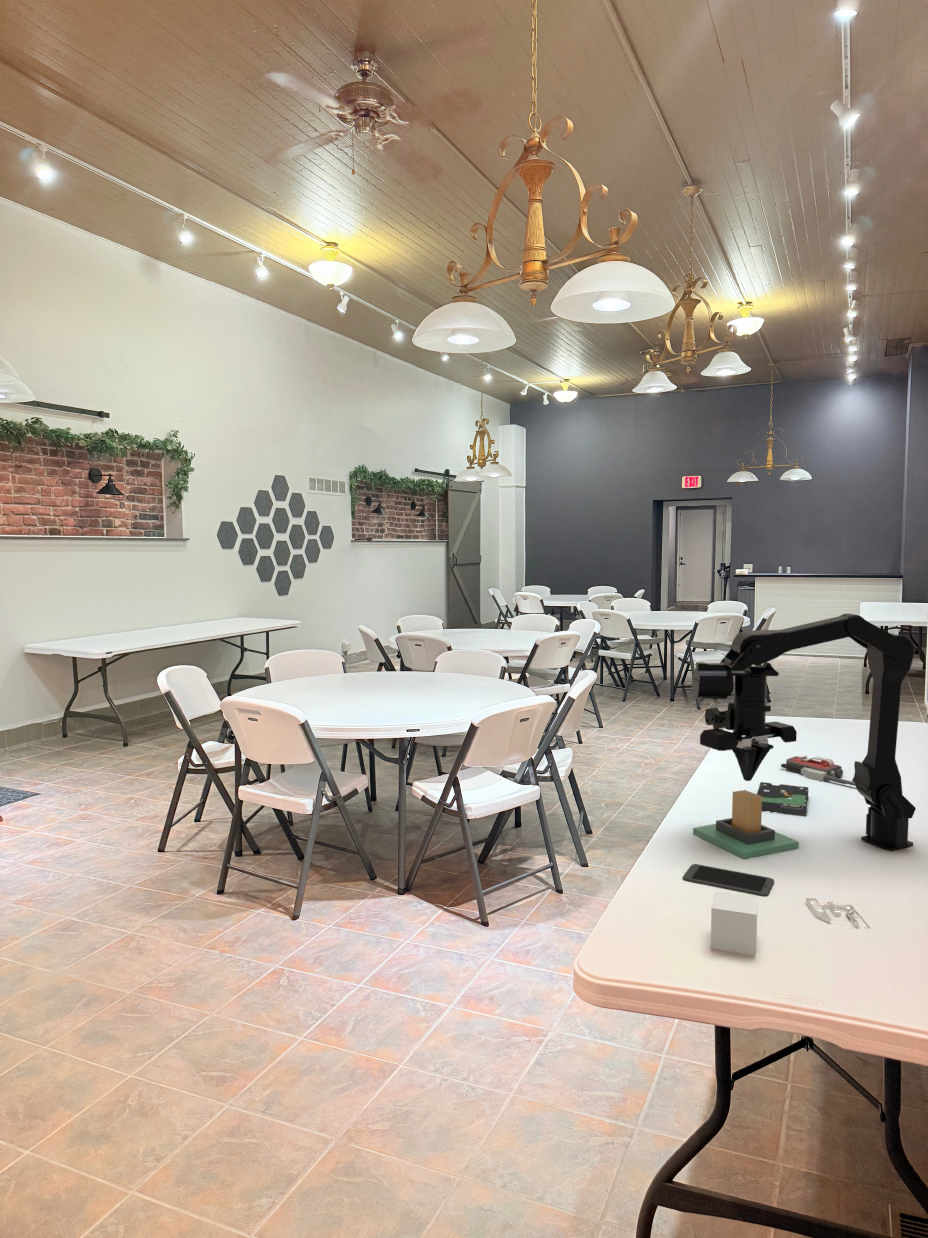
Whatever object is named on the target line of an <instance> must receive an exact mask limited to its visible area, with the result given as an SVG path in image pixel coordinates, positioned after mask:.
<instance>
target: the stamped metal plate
mask: <svg viewBox="0 0 928 1238" xmlns="http://www.w3.org/2000/svg"><path fill="white" fill-rule="evenodd" d="M805 905H806V906H807V907H808V909H809V910H810V912H811V913H812V914H813V916H814V917H815V918H816V919H819V920H821V921H822V922H826V923H827V924H830V925H832V926H835V927H836V928H839V926H837V925H835V924H833V923H831V920H832V918H831V917H830V915H829V914H828V913H827V910H829V911H830V912H831V913H832V914H833V916H834V917H838V918H840V917H841V916H842V912H844V913H845V915H844V916H845V917H848V918H849V919H850V923H851V925H852V926H850V927H849V926H842V928H844V929H860V925H859V922H858V920H857V919H861V921H862V922H863V923H864V924H865V925H866V927H865V929H866V930H867V929H869V930H871V927H870V926H869V925H868V923H867V922H866V921H865V920H864V918H863V917H862V915H860V913H859V912H858V911H857V910H856V909H855V907H854V906H853V904H840V903H839V904H838V903H834V901H826V903H820V902H819V900H817V898H811V897H810V898H809V897H808V898H807V897H806V898H805ZM841 911H842V912H841ZM852 914H855V915H852Z"/></svg>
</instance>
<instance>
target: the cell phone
mask: <svg viewBox="0 0 928 1238" xmlns="http://www.w3.org/2000/svg"><path fill="white" fill-rule="evenodd" d="M682 881H685V882H689V883H693V884H698V885H704V886H707V887H708V886H709V887H713V888H720V889H723V890H728V891H734V892H739V893H743V894H744V893H745V894H748V895H752V896H753V895H754V896H757V897H758V896H759V897H765V898H766V897H769V895H770V894H771V891H772V889H773V887H774V885H775V880H774V878H771V877H769V876H764V875H763V876H762V875H757V874H752V873H747V872H741V871H735V870H730V869H724V868H719V867H714V866H708V865H703V864H698V863H693V864H691V865H690V866H689V867H688V869H687V870H686V872H684V874H683V876H682Z"/></svg>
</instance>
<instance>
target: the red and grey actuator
mask: <svg viewBox="0 0 928 1238" xmlns="http://www.w3.org/2000/svg"><path fill="white" fill-rule="evenodd" d="M780 767H781V768H783V769H785V770H786V772H791V773H795V774H798V773H799V775H802V776H803V775H804V776H803V777H805V778H806V779H809V778H810V780H813V779H814V781H817V780H818V782H821V781H823V782H827V781H828V782H833V783H838V784H842V785H850V786H854V787H856V783H855V782H853V781H852V780H847V779H844V778H842V777H843V774H844V770H843V768H842V766H841V765H838V764H835V762H834V761H833V760H832V759H830V758H825V757H822V756H814V757H812V758H809V757H808V755H803V756H792V757H788V758H787V759H786V763H781V764H780ZM836 777H837V778H836ZM825 780H826V781H825Z"/></svg>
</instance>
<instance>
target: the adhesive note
mask: <svg viewBox="0 0 928 1238" xmlns="http://www.w3.org/2000/svg"><path fill="white" fill-rule="evenodd" d="M758 902H759V898H758V896H755V895H754V896H753V895H745V894H740V893H739V894H738V893H733V892H732V893H731V892H723V891H717V890H714V892H713V897H712V903H711V907H710V908H711V913H710V914H711V918H710V949H712V950H718V951H723V952H724V951H725V952H729V953H730V952H731V953H736V954H742V955H748V956H754V957H756V956H757V954H756V953H757V939H758V938H757V936H758V905H759V903H758Z"/></svg>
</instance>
